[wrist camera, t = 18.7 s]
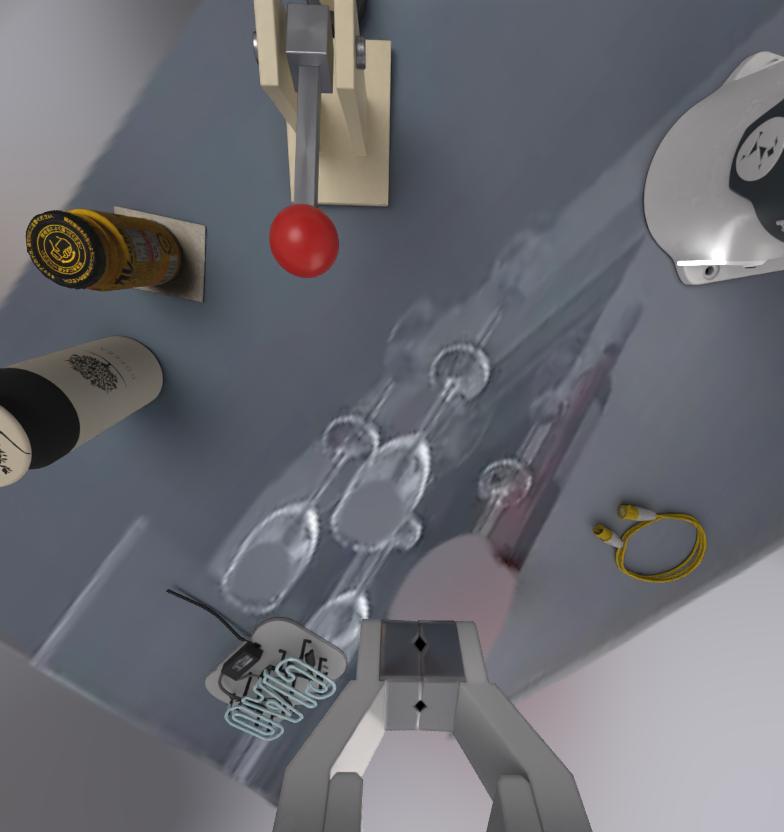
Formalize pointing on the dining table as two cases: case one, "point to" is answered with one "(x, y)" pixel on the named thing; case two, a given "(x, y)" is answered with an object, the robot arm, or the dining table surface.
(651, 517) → the extension cord
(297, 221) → the switch lever
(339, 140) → the switch bracket
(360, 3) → the pilot lamp
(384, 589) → the dining table surface
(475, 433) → the dining table surface
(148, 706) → the dining table surface
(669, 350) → the dining table surface
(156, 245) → the condiment
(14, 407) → the travel mug
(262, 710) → the neon sign
